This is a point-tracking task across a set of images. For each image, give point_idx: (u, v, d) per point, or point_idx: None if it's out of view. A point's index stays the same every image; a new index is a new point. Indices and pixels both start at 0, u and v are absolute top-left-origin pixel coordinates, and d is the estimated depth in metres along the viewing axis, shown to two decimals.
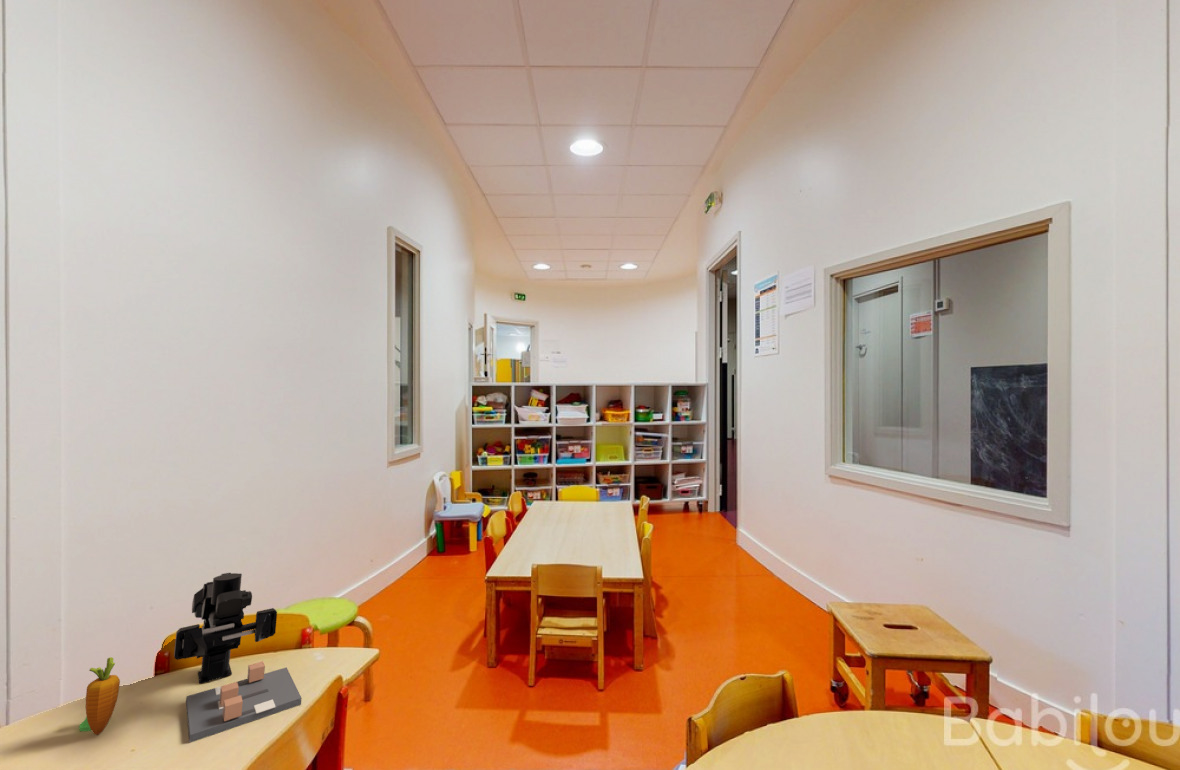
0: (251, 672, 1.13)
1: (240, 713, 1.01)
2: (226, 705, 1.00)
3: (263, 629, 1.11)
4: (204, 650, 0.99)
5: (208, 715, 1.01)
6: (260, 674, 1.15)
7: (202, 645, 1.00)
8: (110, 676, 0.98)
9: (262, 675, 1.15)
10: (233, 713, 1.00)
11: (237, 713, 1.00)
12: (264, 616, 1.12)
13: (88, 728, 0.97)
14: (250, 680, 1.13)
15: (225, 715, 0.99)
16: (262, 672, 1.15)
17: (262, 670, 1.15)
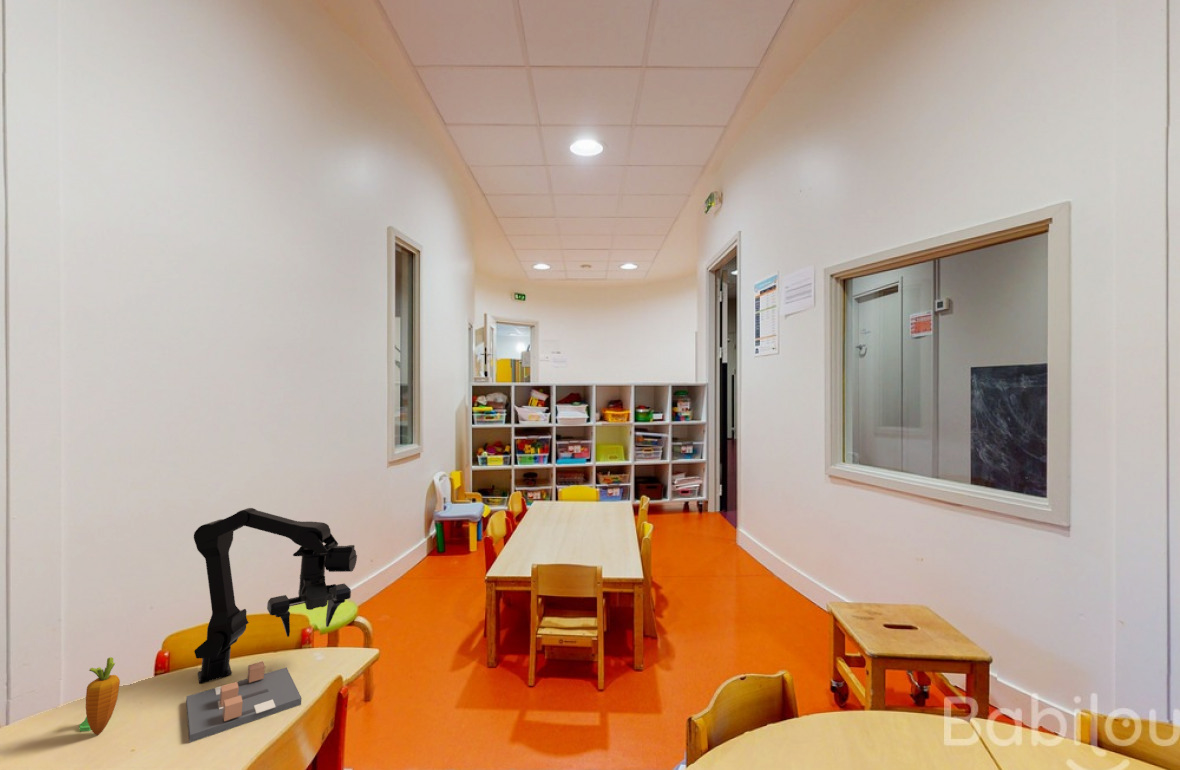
0: (251, 672, 1.13)
1: (240, 713, 1.01)
2: (226, 705, 1.00)
3: None
4: (287, 635, 1.20)
5: (208, 715, 1.01)
6: (260, 674, 1.15)
7: (286, 630, 1.19)
8: (110, 676, 0.98)
9: (262, 675, 1.15)
10: (233, 713, 1.00)
11: (237, 713, 1.00)
12: (339, 603, 1.26)
13: (88, 728, 0.97)
14: (250, 680, 1.13)
15: (225, 715, 0.99)
16: (262, 672, 1.15)
17: (262, 670, 1.15)
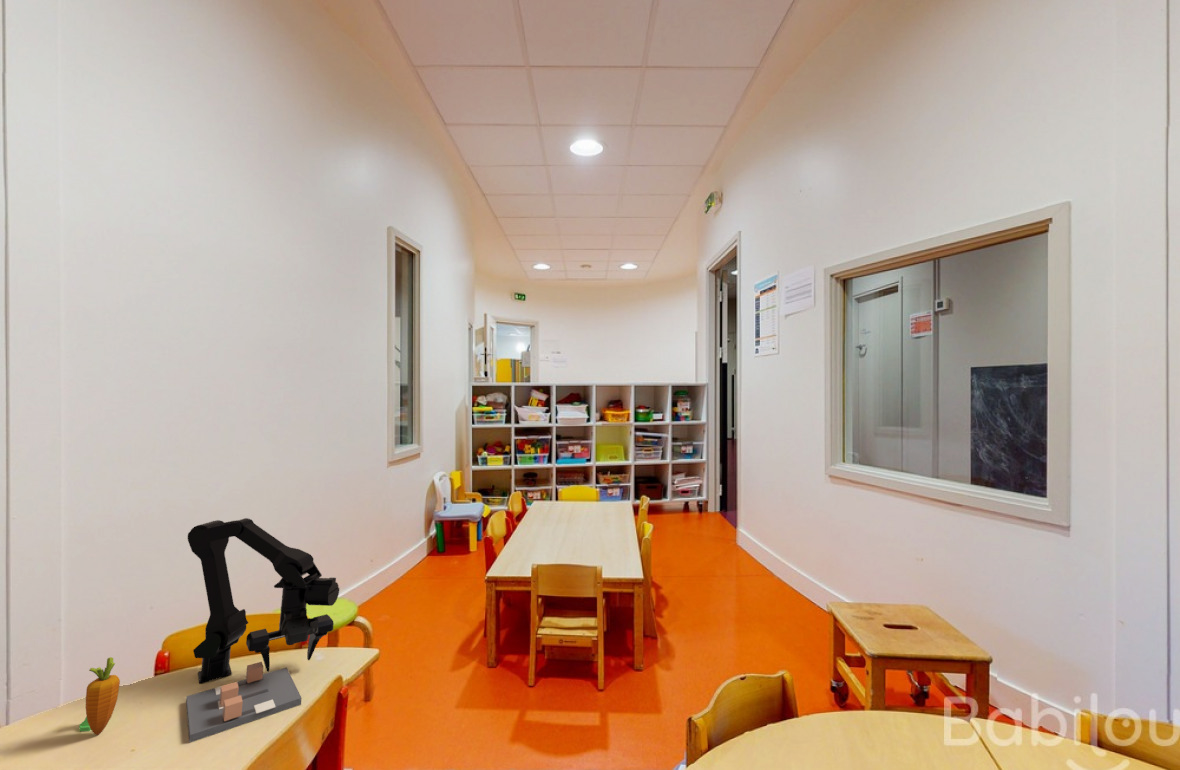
0: (250, 672, 1.13)
1: (240, 713, 1.01)
2: (226, 705, 1.00)
3: None
4: (266, 670, 1.17)
5: (208, 715, 1.01)
6: (259, 674, 1.14)
7: (266, 665, 1.16)
8: (110, 676, 0.98)
9: (261, 675, 1.15)
10: (233, 713, 1.00)
11: (237, 713, 1.00)
12: (321, 636, 1.23)
13: (88, 728, 0.97)
14: (249, 680, 1.13)
15: (225, 715, 0.99)
16: (261, 673, 1.15)
17: (261, 670, 1.15)
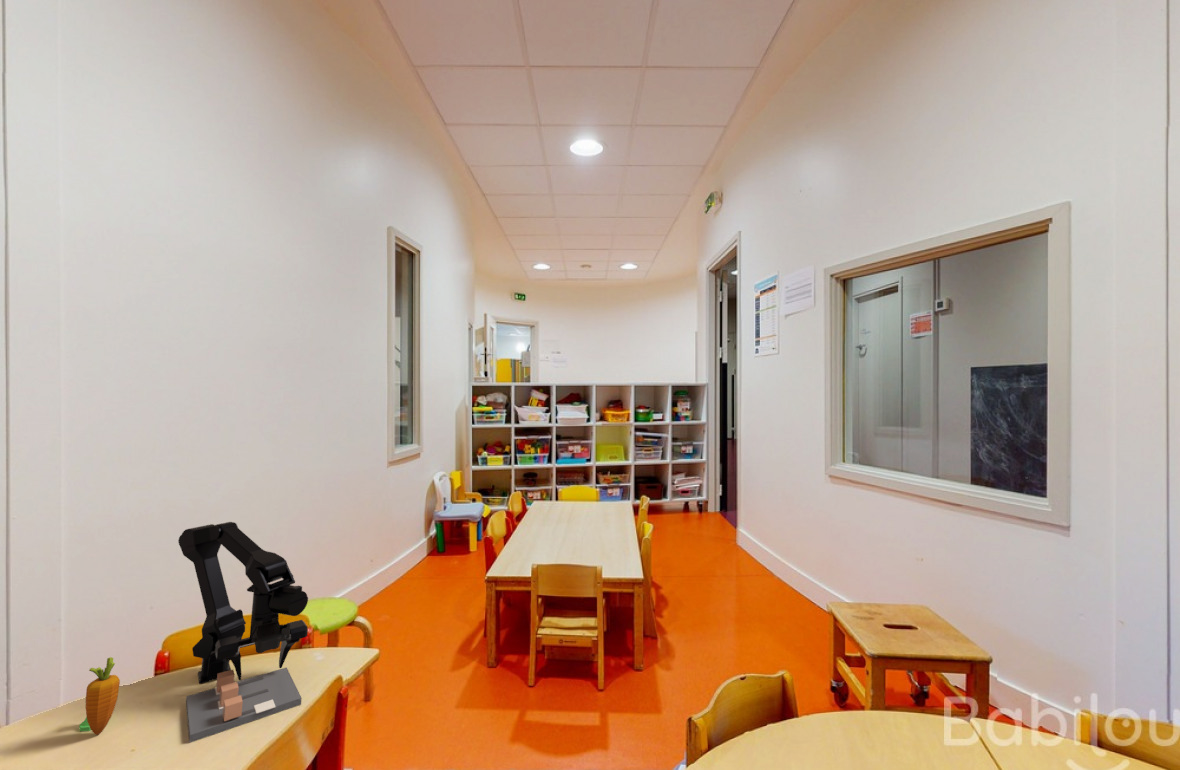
0: (220, 681, 1.09)
1: (240, 713, 1.01)
2: (226, 705, 1.00)
3: None
4: (238, 678, 1.13)
5: (208, 715, 1.01)
6: (229, 683, 1.11)
7: (238, 673, 1.12)
8: (110, 676, 0.98)
9: None
10: (233, 713, 1.00)
11: (237, 713, 1.00)
12: (293, 643, 1.19)
13: (88, 728, 0.97)
14: (219, 689, 1.09)
15: (225, 715, 0.99)
16: (232, 681, 1.11)
17: (232, 678, 1.11)
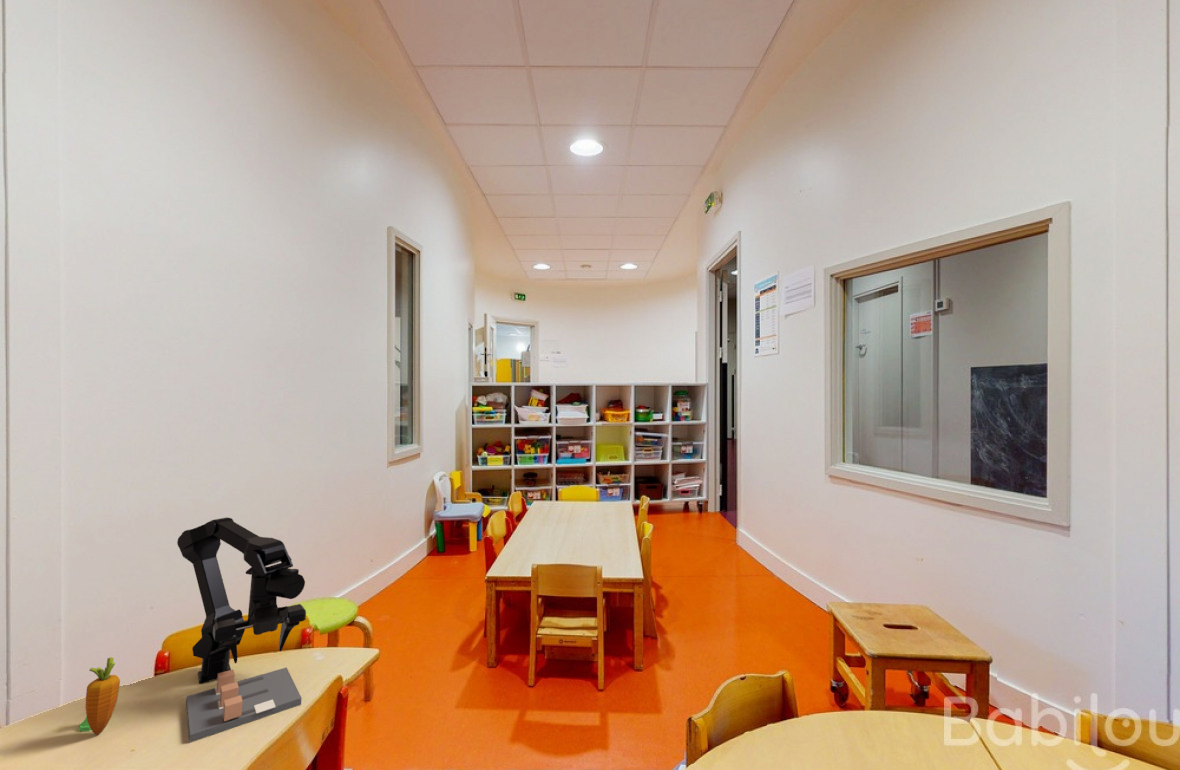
0: (220, 681, 1.09)
1: (240, 713, 1.01)
2: (226, 705, 1.00)
3: None
4: (234, 661, 1.12)
5: (208, 715, 1.01)
6: (230, 682, 1.11)
7: (233, 656, 1.12)
8: (110, 676, 0.98)
9: None
10: (233, 713, 1.00)
11: (237, 713, 1.00)
12: (293, 626, 1.19)
13: (88, 728, 0.97)
14: (219, 689, 1.09)
15: (225, 715, 0.99)
16: (232, 681, 1.11)
17: (232, 678, 1.11)
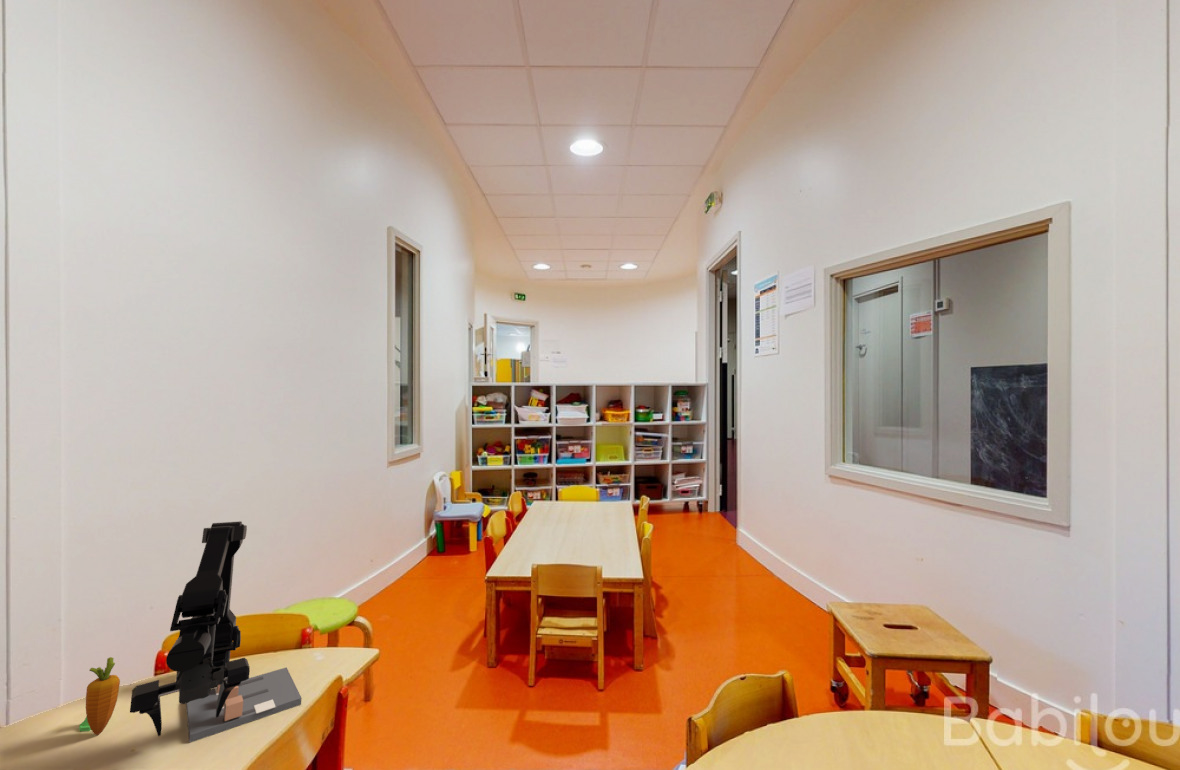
0: None
1: (241, 713, 1.01)
2: (226, 705, 1.00)
3: None
4: None
5: (208, 715, 1.01)
6: None
7: (157, 727, 0.92)
8: (110, 676, 0.98)
9: None
10: (234, 713, 1.00)
11: (237, 713, 1.00)
12: (232, 687, 0.99)
13: (88, 728, 0.97)
14: None
15: (226, 715, 0.99)
16: None
17: None
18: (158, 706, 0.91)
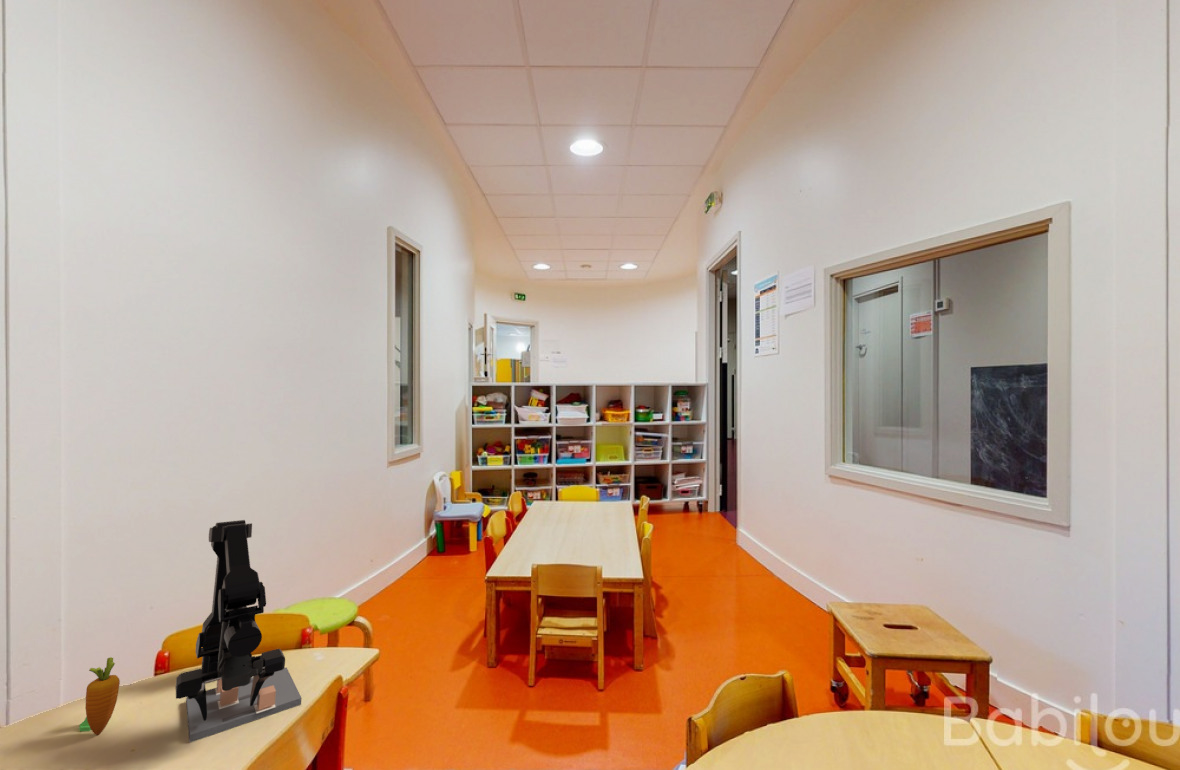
0: (220, 681, 1.09)
1: (273, 702, 1.05)
2: (260, 694, 1.04)
3: None
4: (203, 719, 0.97)
5: (208, 715, 1.01)
6: None
7: (202, 713, 0.97)
8: (110, 676, 0.98)
9: None
10: (267, 702, 1.04)
11: (270, 702, 1.05)
12: (266, 677, 1.03)
13: (88, 728, 0.97)
14: (219, 689, 1.09)
15: (260, 704, 1.03)
16: None
17: None
18: (205, 692, 0.96)
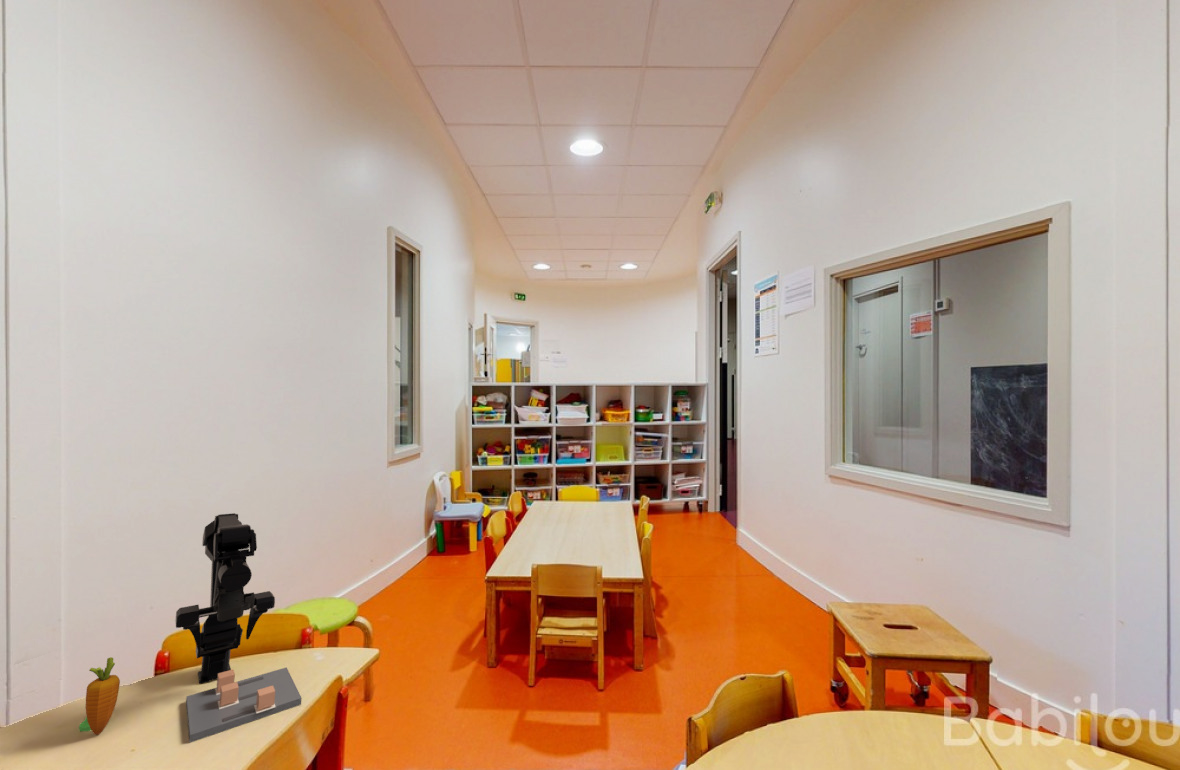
0: (220, 681, 1.09)
1: (273, 702, 1.05)
2: (259, 694, 1.04)
3: None
4: (197, 649, 1.08)
5: (208, 715, 1.01)
6: (230, 682, 1.11)
7: (197, 643, 1.08)
8: (110, 676, 0.98)
9: None
10: (266, 702, 1.04)
11: (270, 702, 1.04)
12: (260, 614, 1.15)
13: (88, 728, 0.97)
14: (219, 689, 1.09)
15: (259, 704, 1.03)
16: (232, 681, 1.11)
17: (232, 678, 1.11)
18: (199, 624, 1.07)
